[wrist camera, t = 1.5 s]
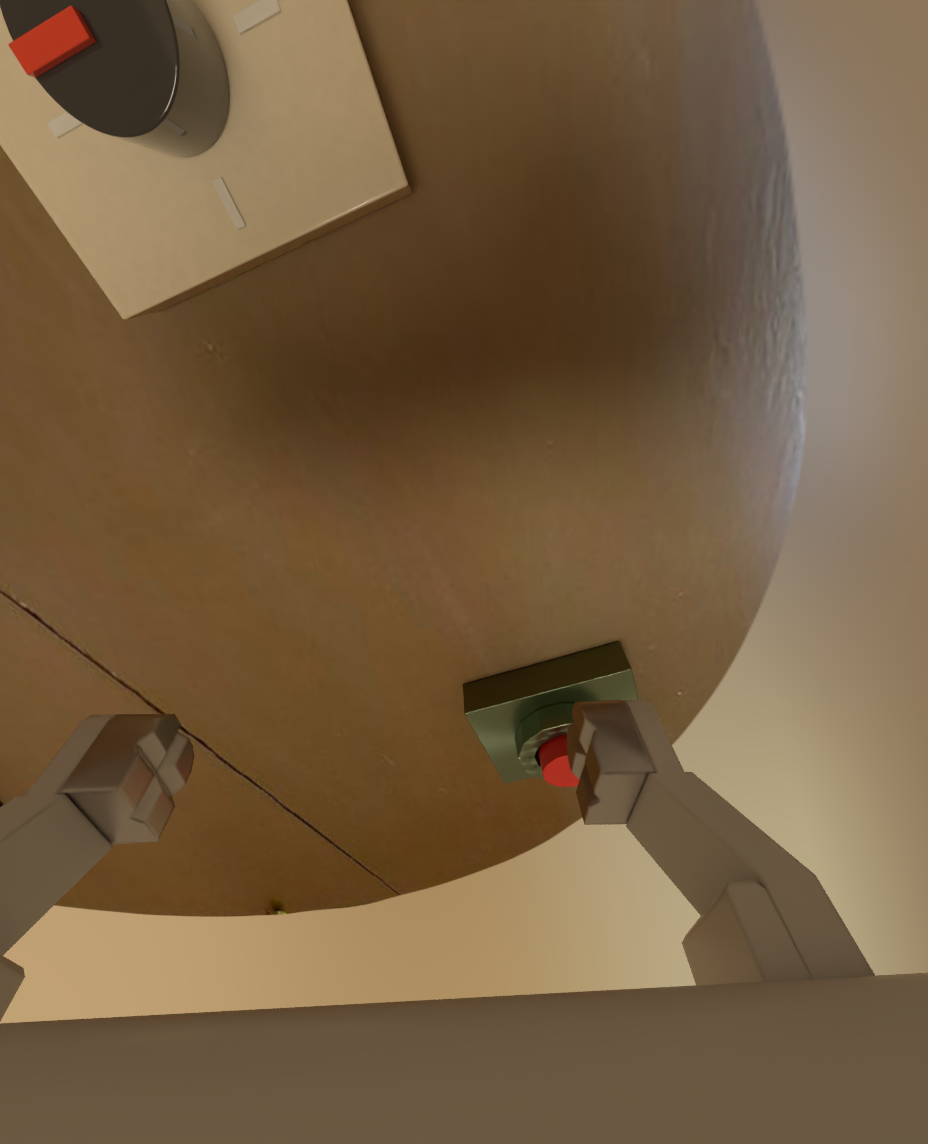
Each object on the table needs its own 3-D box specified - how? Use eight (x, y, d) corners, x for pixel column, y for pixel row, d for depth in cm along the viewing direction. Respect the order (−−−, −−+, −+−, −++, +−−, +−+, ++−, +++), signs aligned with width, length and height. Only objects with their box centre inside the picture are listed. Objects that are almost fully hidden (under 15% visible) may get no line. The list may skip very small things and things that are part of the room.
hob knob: (169, -65, 13) (82, -166, 10) (256, 124, 15) (208, 93, 12) (53, 7, 13) (-65, -65, 10) (152, 179, 15) (81, 163, 12)
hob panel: (268, -246, 13) (224, -371, 10) (412, 193, 18) (408, 184, 16) (-60, -25, 15) (-166, -82, 12) (161, 311, 20) (120, 321, 18)
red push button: (587, 726, 32) (594, 749, 31) (597, 757, 34) (604, 779, 33) (532, 740, 33) (536, 763, 31) (545, 769, 35) (550, 792, 34)
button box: (618, 640, 33) (641, 690, 30) (636, 721, 39) (657, 770, 35) (462, 684, 35) (465, 735, 32) (501, 754, 41) (507, 805, 37)
